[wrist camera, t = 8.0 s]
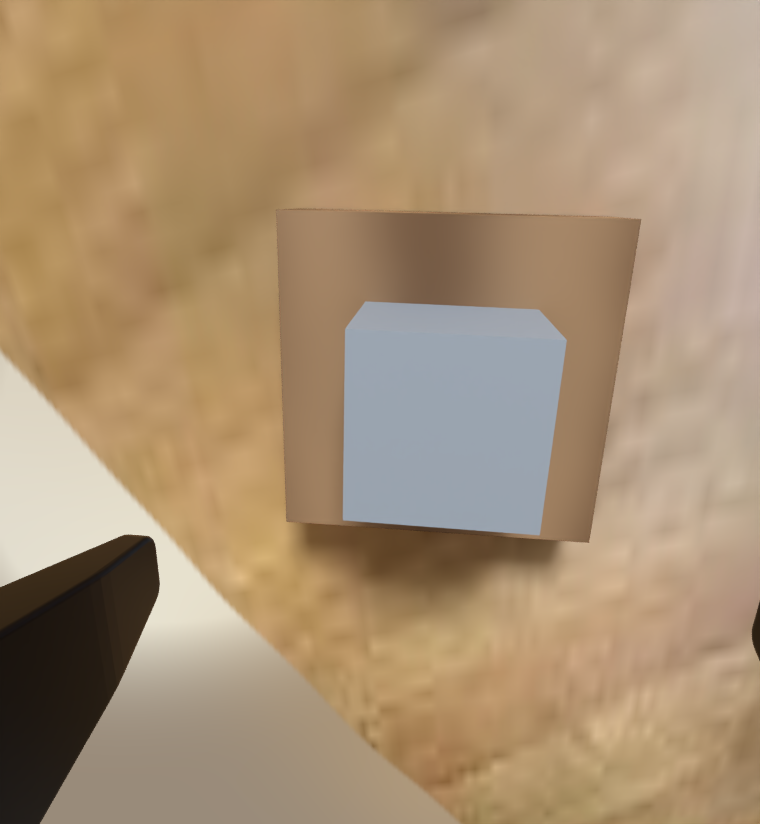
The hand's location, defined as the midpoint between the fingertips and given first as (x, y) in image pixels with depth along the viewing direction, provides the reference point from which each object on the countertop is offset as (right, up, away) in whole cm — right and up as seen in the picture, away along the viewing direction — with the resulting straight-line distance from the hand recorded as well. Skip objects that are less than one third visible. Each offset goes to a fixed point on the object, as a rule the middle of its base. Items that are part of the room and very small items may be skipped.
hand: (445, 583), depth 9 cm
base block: (+1, +4, +12) cm, 13 cm away
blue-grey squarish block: (+1, +3, +9) cm, 10 cm away
